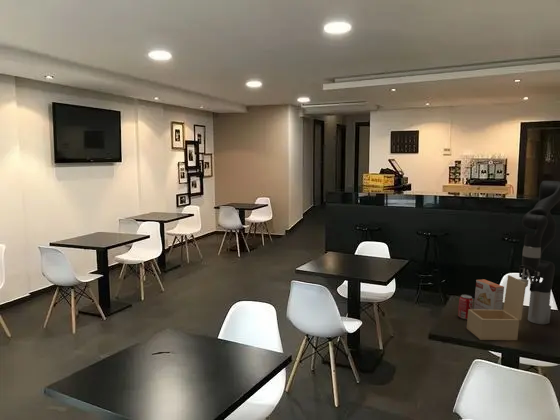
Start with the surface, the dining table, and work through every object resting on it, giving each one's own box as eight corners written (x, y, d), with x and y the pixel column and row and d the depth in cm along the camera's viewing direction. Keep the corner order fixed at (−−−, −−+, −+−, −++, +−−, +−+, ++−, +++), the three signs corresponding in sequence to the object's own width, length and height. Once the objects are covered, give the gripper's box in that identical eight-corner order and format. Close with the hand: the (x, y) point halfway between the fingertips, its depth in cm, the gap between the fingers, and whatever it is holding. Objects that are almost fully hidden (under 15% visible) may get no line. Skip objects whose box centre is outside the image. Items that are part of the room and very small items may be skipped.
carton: (501, 328, 224) (503, 309, 223) (517, 340, 210) (519, 320, 209) (466, 328, 223) (468, 309, 222) (480, 339, 209) (482, 319, 208)
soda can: (470, 316, 241) (472, 295, 239) (472, 320, 234) (474, 299, 232) (456, 314, 243) (458, 293, 241) (458, 319, 236) (460, 297, 234)
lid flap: (503, 309, 223) (514, 310, 223) (519, 320, 209) (531, 320, 209) (508, 275, 221) (519, 275, 221) (524, 283, 207) (536, 283, 207)
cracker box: (472, 316, 240) (475, 279, 238) (481, 315, 242) (484, 278, 240) (491, 326, 227) (495, 286, 225) (501, 325, 229) (504, 286, 226)
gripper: (548, 259, 206) (544, 294, 208) (529, 252, 220) (526, 285, 222) (532, 258, 205) (529, 293, 207) (515, 252, 219) (512, 284, 221)
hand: (527, 289), depth 214 cm, fingers open, 6 cm apart
